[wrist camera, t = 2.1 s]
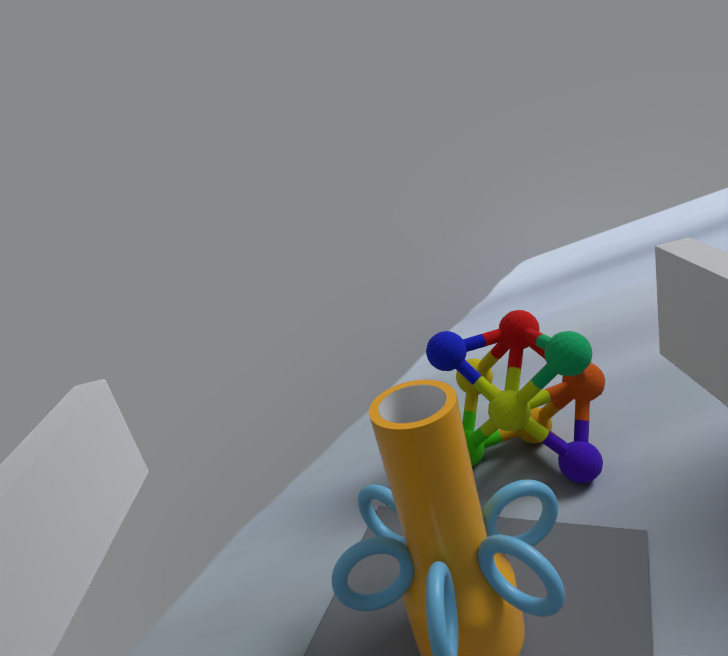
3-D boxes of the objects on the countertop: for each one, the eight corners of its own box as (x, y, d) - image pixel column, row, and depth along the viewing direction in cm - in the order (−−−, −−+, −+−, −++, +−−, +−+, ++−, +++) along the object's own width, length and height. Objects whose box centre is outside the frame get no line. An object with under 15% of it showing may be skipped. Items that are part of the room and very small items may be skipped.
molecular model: (441, 473, 44) (413, 342, 40) (474, 421, 49) (452, 301, 45) (596, 502, 38) (584, 351, 33) (615, 439, 43) (606, 301, 39)
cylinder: (328, 654, 32) (242, 437, 26) (434, 532, 38) (383, 336, 33) (526, 800, 23) (461, 526, 18) (619, 612, 30) (594, 367, 24)
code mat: (647, 533, 34) (646, 529, 34) (665, 916, 20) (665, 912, 19) (379, 508, 42) (378, 505, 42) (250, 767, 28) (248, 763, 27)
